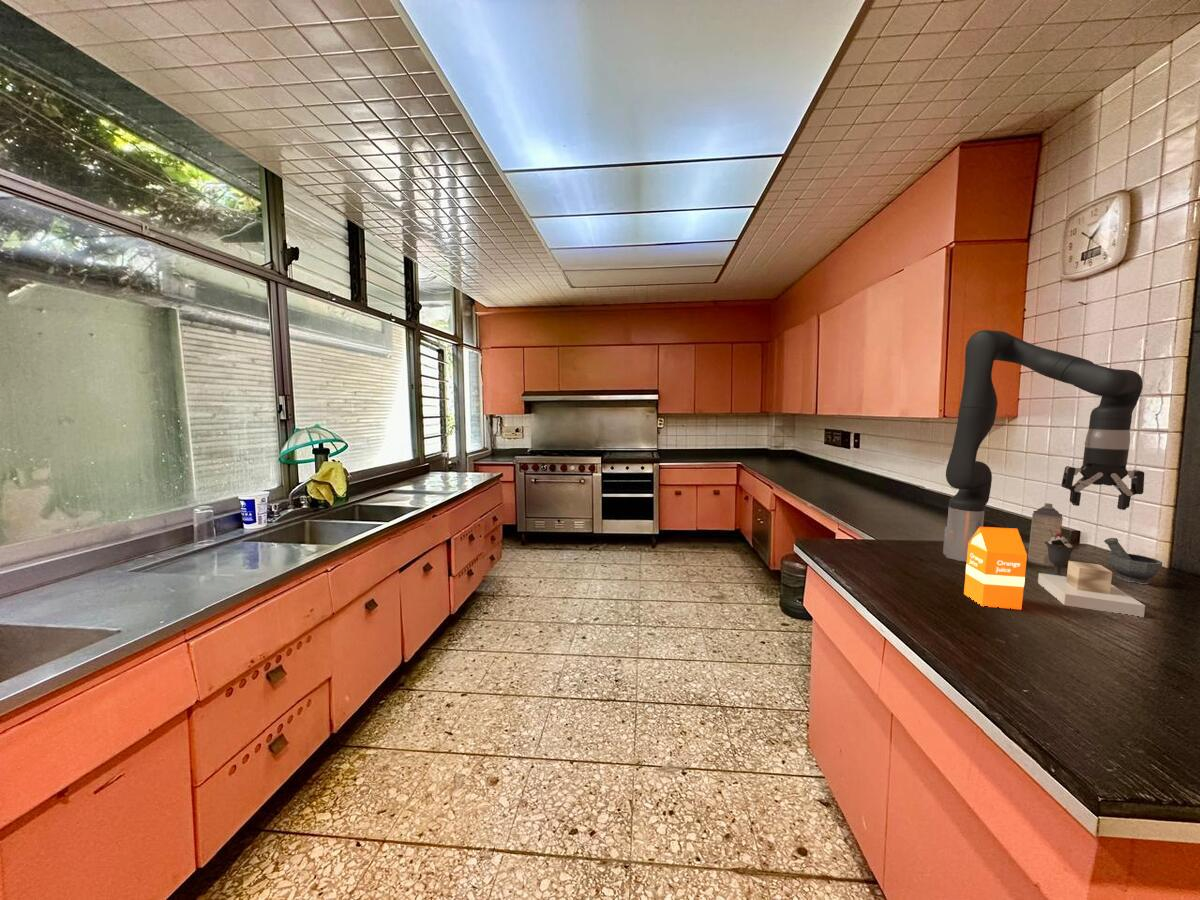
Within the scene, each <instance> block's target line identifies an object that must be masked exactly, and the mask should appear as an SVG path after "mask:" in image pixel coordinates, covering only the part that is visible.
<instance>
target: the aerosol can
mask: <svg viewBox="0 0 1200 900" xmlns="http://www.w3.org/2000/svg"><path fill="white" fill-rule="evenodd" d="M1063 519H1064V516H1063V514H1061V513H1059V511H1058V510H1057V509H1056V508H1055V507H1053V503H1048V502H1047V503H1046V502H1045V503H1044V506H1041V507H1039V508H1038V509H1036V510H1034V511H1033V513H1032V517H1031V526H1030V535H1029V544H1028V553H1027V562H1028V563H1029V564H1033V565H1036V566H1039V565H1040V567H1044V566H1046V567H1045V568H1055V565H1054V564H1053V563H1051V562H1050V560H1049V557H1048V547H1047V545H1046V544H1045V543H1044V542H1046V541H1049V540H1051V538H1052V537H1053V536H1055V535H1056V533H1059V532H1060V531H1061V532H1060V534H1062V526H1063ZM1060 527H1061V529H1060Z"/></svg>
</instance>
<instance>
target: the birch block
mask: <svg viewBox="0 0 1200 900" xmlns="http://www.w3.org/2000/svg"><path fill="white" fill-rule="evenodd" d="M1066 572H1067V573H1066V577H1067V579H1066V582H1067V583H1069V584H1070V585H1071V586H1073V587H1074V588H1075V589H1077V590H1082V591H1089V592H1096V593H1103V594H1110V588H1111V585H1112V580H1113V578H1112V577H1113V571H1112V570H1110V569H1108V568H1106V567H1105V566H1103V565H1101V564H1097V563H1089V562H1082V561H1072V560H1069V561H1068V564H1067V571H1066Z"/></svg>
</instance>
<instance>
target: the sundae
mask: <svg viewBox="0 0 1200 900" xmlns="http://www.w3.org/2000/svg"><path fill="white" fill-rule="evenodd" d="M1060 529H1061V531H1060V532H1061V534H1060V532H1059V533H1056V535H1055V536H1053V537H1052V538H1051V540H1049V541H1046V542H1044V543H1045V544H1046V545H1047V547H1048V557H1049V560H1050V562H1051V563H1053V564H1054V565H1055V567H1054V569H1053V572H1046V573H1045V574H1050V575H1058V576H1064V575H1063V574H1062V573H1061V568H1062V567H1063V566H1066V565H1068V561H1070V558H1071V555H1072V552H1073V550H1076V549H1077V546H1076V545H1074V544H1072V543H1070V541H1069V539H1067V537H1066V536H1065V535H1064V533H1063V530H1062V528H1061V527H1060Z"/></svg>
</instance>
